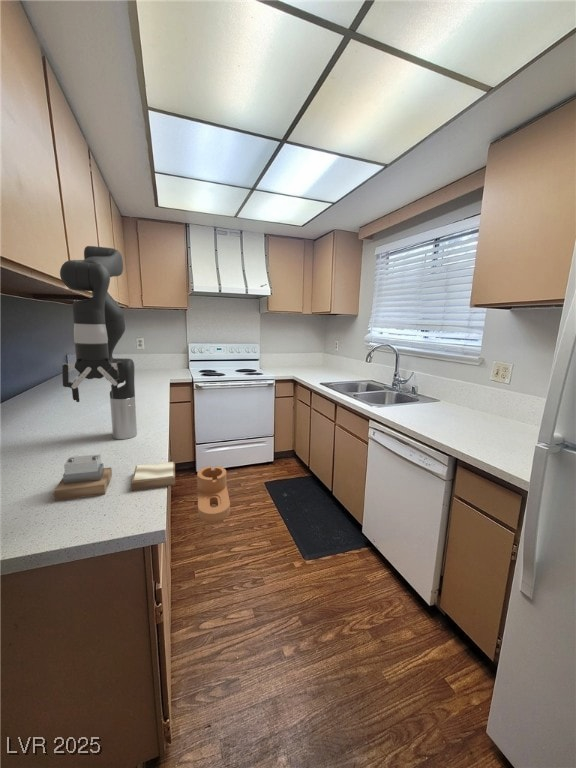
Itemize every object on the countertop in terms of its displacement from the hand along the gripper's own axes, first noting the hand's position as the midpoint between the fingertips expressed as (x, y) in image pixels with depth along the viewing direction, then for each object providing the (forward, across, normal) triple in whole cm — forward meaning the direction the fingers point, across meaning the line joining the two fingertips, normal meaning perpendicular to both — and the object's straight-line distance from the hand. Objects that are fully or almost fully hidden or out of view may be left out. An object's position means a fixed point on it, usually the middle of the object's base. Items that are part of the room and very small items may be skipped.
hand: (96, 399), depth 85 cm
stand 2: (+27, -14, +2) cm, 31 cm away
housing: (+24, +4, -4) cm, 25 cm away
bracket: (+28, -24, +23) cm, 44 cm away
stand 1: (+27, +4, -4) cm, 28 cm away
